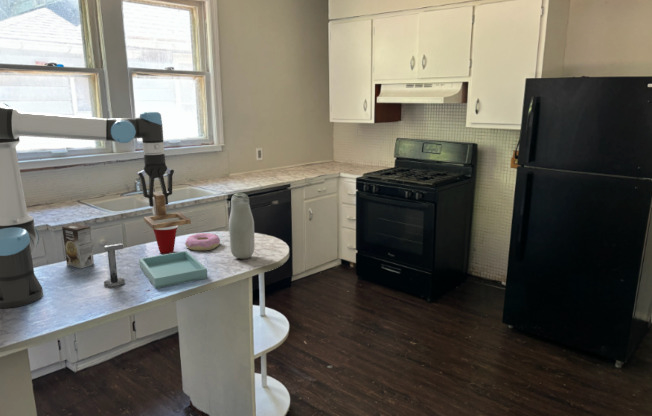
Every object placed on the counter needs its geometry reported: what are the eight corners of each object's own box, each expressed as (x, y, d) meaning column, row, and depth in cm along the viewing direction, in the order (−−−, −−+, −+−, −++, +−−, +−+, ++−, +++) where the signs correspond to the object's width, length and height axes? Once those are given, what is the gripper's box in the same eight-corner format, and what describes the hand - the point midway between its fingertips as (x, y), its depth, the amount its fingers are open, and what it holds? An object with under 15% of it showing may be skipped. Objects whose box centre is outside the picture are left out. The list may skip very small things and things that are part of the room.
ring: (152, 229, 169) (150, 204, 167) (140, 217, 185) (138, 194, 183) (191, 223, 176) (189, 199, 174) (175, 212, 192) (174, 190, 190)
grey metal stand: (105, 289, 170) (101, 249, 167) (102, 282, 176) (98, 244, 172) (128, 284, 174) (124, 246, 171) (124, 278, 180) (120, 241, 176)
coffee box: (65, 265, 194) (61, 226, 190) (80, 260, 199) (76, 222, 195) (80, 268, 189) (76, 229, 186) (95, 264, 195) (90, 225, 191)
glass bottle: (258, 255, 207) (256, 191, 201) (248, 262, 197) (246, 196, 191) (236, 253, 209) (234, 190, 203) (226, 260, 200) (223, 195, 193)
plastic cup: (183, 248, 215) (182, 222, 212) (173, 256, 205) (171, 229, 202) (160, 247, 216) (158, 221, 214) (149, 255, 206) (147, 228, 203)
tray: (155, 288, 171) (154, 278, 170) (139, 267, 191) (139, 258, 190) (207, 278, 181) (206, 268, 180) (187, 259, 201) (186, 250, 200)
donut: (196, 254, 208) (196, 243, 207) (179, 246, 218) (178, 236, 217) (227, 247, 218) (226, 236, 217) (209, 240, 229) (208, 229, 228)
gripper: (133, 156, 174) (140, 218, 179) (178, 153, 182) (183, 212, 188) (129, 154, 180) (135, 214, 185) (172, 151, 188) (177, 209, 194)
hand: (159, 213), depth 187 cm, fingers closed on ring, 3 cm apart
